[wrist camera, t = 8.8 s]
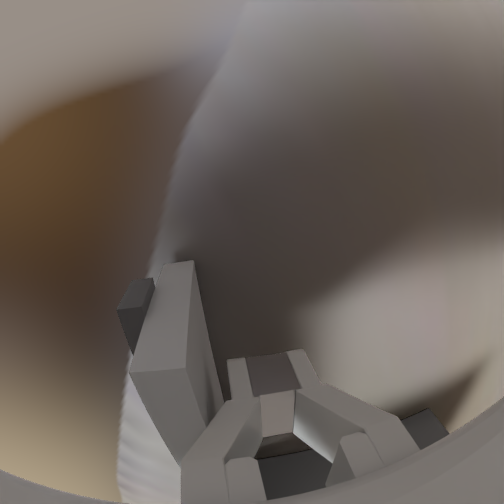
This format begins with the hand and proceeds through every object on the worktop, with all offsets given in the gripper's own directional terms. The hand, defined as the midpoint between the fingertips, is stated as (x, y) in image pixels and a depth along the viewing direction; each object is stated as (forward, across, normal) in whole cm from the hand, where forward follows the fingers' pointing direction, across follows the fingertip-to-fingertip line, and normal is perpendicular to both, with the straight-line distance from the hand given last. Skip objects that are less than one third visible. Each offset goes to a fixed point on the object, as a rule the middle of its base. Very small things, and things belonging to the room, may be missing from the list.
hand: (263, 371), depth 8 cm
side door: (+3, +2, +3) cm, 5 cm away
